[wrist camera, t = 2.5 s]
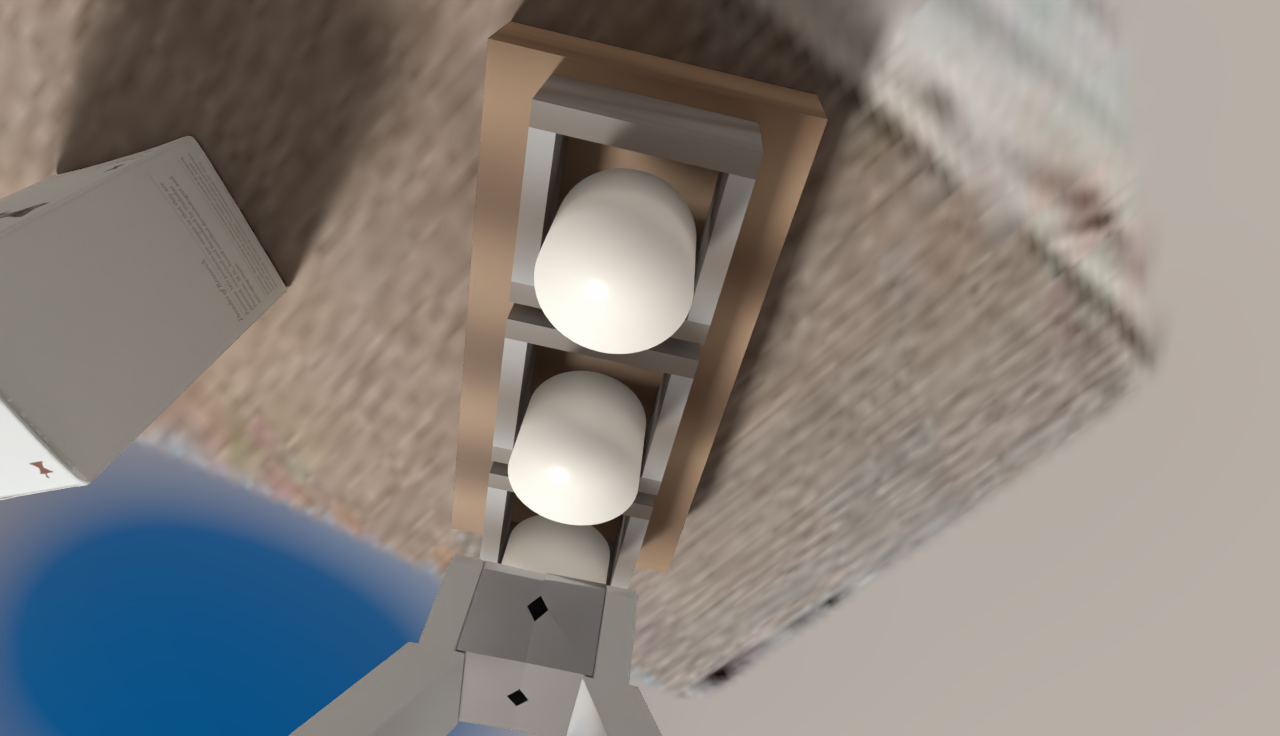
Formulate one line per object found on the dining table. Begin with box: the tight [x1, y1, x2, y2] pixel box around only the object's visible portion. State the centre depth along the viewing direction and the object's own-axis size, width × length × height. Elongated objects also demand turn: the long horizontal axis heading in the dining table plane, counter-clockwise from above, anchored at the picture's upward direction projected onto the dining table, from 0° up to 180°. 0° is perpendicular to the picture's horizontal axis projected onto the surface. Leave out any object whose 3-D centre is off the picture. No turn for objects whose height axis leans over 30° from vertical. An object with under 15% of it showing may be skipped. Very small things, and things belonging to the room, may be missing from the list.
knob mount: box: [451, 21, 828, 589], centre depth 29 cm, size 23×11×6 cm, turn 168°
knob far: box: [501, 515, 610, 584], centre depth 30 cm, size 4×4×3 cm
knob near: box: [534, 168, 696, 354], centre depth 21 cm, size 4×4×3 cm
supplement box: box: [0, 136, 287, 500], centre depth 26 cm, size 7×7×13 cm
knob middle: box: [508, 371, 646, 525], centre depth 25 cm, size 4×4×3 cm
